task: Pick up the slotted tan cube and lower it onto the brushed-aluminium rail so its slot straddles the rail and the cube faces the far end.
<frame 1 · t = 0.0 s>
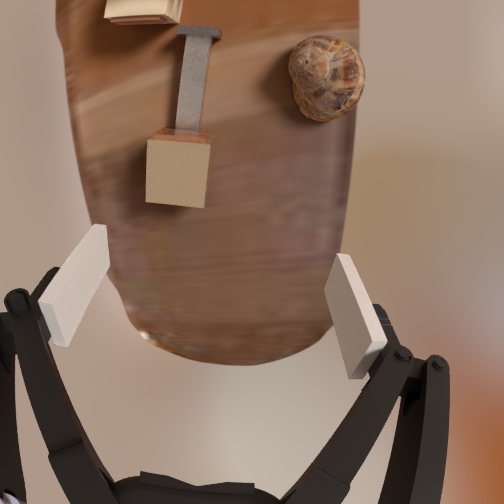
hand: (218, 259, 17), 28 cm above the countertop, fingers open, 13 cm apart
seashell: (319, 77, 36), on the countertop
rail: (191, 115, 38), on the countertop
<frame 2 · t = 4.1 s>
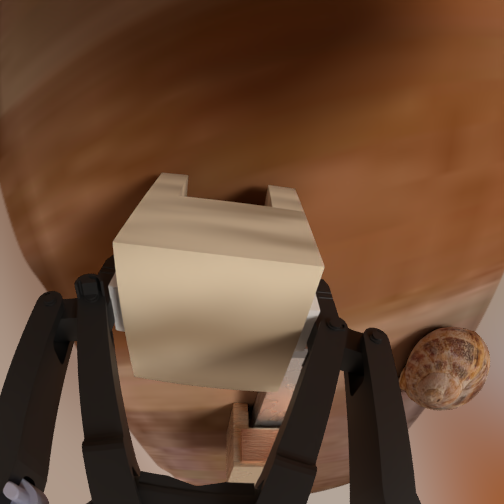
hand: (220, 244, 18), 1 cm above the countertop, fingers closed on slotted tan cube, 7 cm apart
seashell: (430, 351, 28), on the countertop
slotted tan cube: (220, 242, 19), point 1 cm above the countertop, touching gripper
rail: (272, 394, 29), on the countertop
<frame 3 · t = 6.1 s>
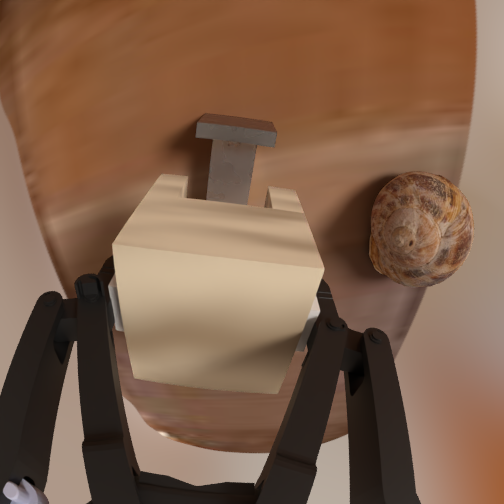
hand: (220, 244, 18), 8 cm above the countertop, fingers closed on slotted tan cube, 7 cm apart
seashell: (403, 219, 27), on the countertop
slotted tan cube: (220, 243, 19), point 7 cm above the countertop, touching gripper
rail: (220, 251, 28), on the countertop
when the fingers open (1 cm above the countertop, at t = 7.7 s): slotted tan cube stays where it is, resting in rail.
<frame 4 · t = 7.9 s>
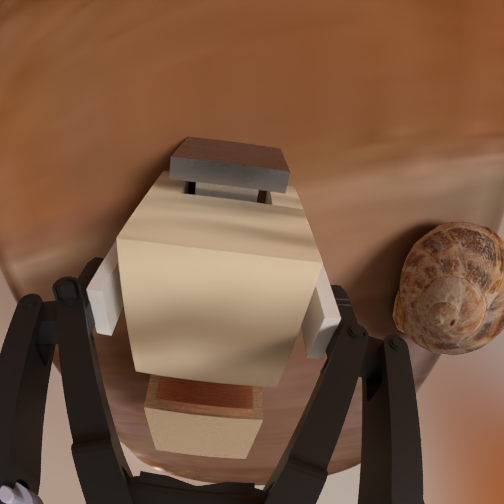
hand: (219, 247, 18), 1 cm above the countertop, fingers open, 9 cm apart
seashell: (434, 271, 21), on the countertop
slotted tan cube: (221, 239, 19), resting in rail
rail: (213, 310, 22), on the countertop
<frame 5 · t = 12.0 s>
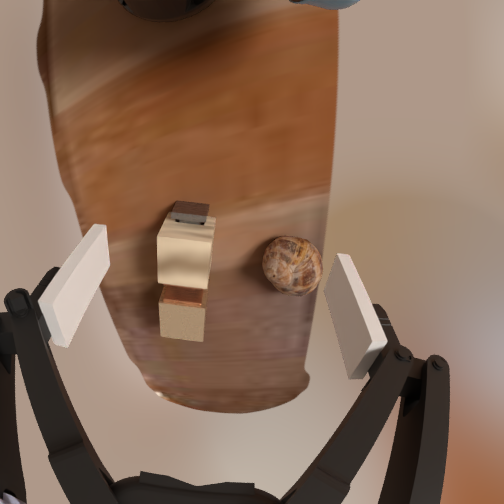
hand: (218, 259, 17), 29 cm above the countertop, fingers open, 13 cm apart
seashell: (289, 258, 52), on the countertop
slotted tan cube: (190, 236, 49), resting in rail
rail: (188, 267, 53), on the countertop
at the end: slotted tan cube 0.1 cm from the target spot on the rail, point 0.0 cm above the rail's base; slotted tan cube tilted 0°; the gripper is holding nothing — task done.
